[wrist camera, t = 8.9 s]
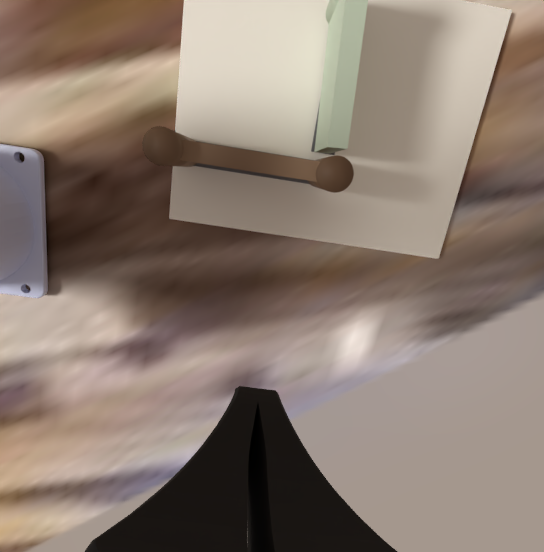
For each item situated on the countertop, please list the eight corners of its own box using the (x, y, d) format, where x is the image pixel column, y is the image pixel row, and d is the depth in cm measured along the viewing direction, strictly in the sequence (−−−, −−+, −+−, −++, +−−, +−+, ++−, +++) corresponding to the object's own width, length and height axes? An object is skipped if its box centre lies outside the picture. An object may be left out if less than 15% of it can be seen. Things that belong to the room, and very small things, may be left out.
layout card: (170, 218, 19) (168, 219, 19) (189, -49, 16) (187, -55, 15) (435, 257, 20) (439, 259, 20) (508, 12, 17) (513, 8, 16)
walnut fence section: (172, 164, 18) (141, 162, 14) (174, 135, 18) (143, 123, 13) (329, 189, 18) (349, 195, 14) (334, 161, 18) (357, 158, 14)
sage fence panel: (333, 153, 18) (353, 148, 14) (310, 151, 18) (323, 146, 14) (353, -1, 16) (383, -60, 12) (327, -4, 16) (348, -63, 12)
